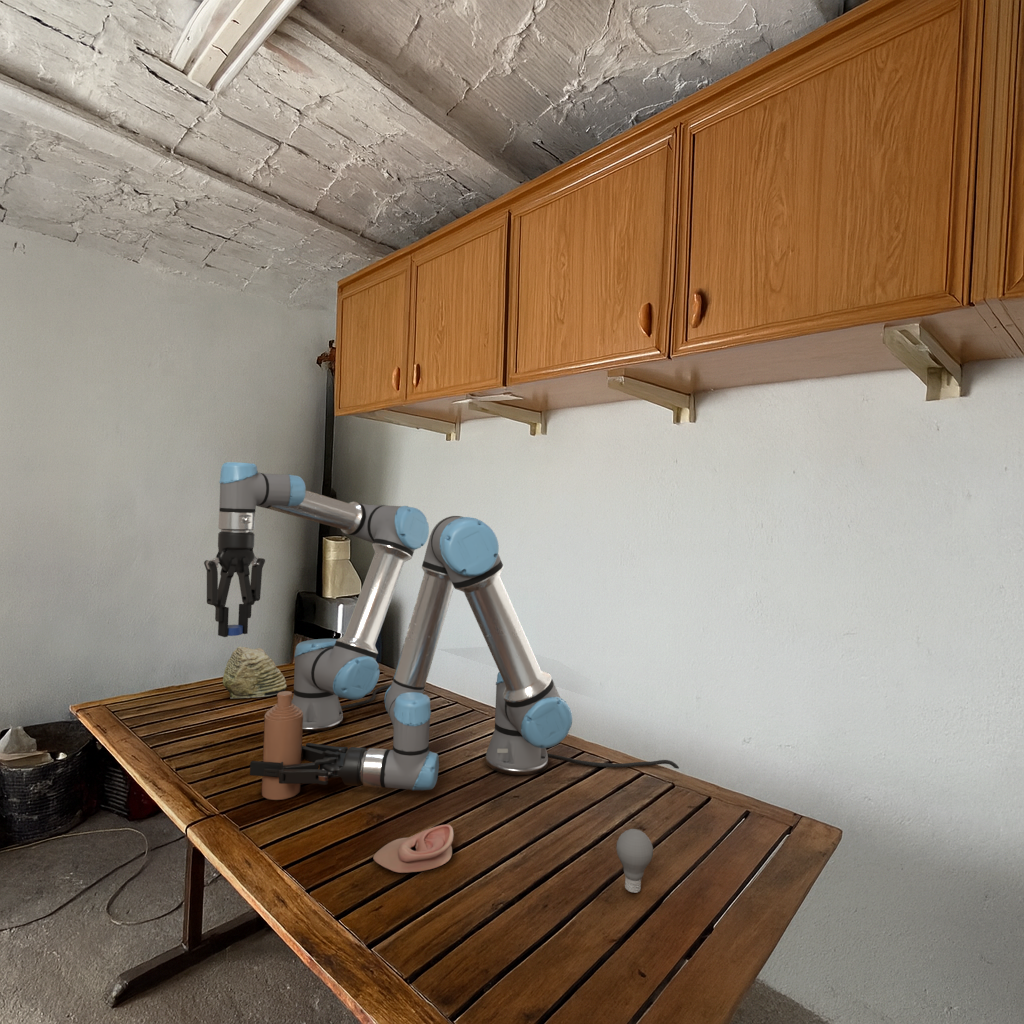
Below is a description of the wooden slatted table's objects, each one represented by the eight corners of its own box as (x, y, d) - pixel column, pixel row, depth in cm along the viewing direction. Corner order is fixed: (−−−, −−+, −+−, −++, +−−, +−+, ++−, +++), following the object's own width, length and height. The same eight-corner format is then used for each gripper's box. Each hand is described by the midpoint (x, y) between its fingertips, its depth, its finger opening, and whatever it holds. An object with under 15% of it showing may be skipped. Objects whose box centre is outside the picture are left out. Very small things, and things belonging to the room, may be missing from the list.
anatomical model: (366, 844, 109) (392, 812, 120) (365, 867, 109) (391, 833, 120) (440, 856, 106) (459, 823, 117) (439, 880, 106) (458, 844, 117)
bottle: (284, 780, 141) (287, 685, 140) (308, 789, 137) (311, 692, 136) (253, 793, 134) (257, 693, 134) (278, 803, 130) (281, 701, 130)
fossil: (218, 695, 195) (220, 647, 195) (278, 685, 208) (279, 640, 207) (228, 703, 189) (230, 653, 188) (289, 692, 201) (290, 645, 201)
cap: (223, 632, 144) (223, 624, 144) (243, 631, 146) (243, 624, 146) (222, 636, 140) (222, 628, 140) (242, 635, 142) (243, 628, 142)
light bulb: (610, 879, 108) (613, 822, 108) (644, 879, 109) (647, 822, 109) (619, 902, 102) (622, 840, 102) (655, 901, 103) (658, 840, 103)
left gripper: (208, 532, 133) (204, 643, 134) (280, 531, 147) (276, 631, 148) (190, 530, 138) (186, 637, 138) (261, 529, 152) (258, 626, 152)
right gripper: (348, 807, 124) (235, 799, 125) (377, 764, 145) (280, 757, 146) (350, 770, 124) (237, 762, 125) (378, 731, 145) (281, 725, 146)
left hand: (232, 634), depth 143 cm, fingers closed on cap, 4 cm apart
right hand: (260, 759), depth 136 cm, fingers closed on bottle, 8 cm apart
